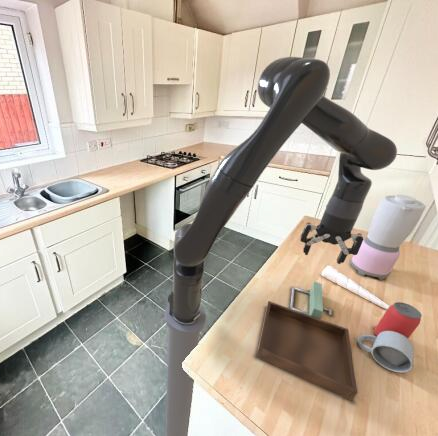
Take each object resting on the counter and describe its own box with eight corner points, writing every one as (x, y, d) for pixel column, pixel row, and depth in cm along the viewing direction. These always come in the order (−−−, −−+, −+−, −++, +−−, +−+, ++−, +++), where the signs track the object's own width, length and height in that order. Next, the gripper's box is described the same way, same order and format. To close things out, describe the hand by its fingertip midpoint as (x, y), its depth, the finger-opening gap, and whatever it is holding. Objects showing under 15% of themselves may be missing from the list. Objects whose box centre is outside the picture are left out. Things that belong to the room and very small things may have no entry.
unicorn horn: (394, 321, 77) (401, 310, 75) (318, 276, 96) (322, 267, 94) (401, 315, 79) (408, 304, 77) (325, 272, 98) (329, 263, 95)
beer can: (385, 326, 76) (404, 298, 70) (409, 345, 70) (431, 317, 64) (367, 329, 75) (385, 302, 69) (390, 349, 69) (410, 321, 63)
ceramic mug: (407, 357, 67) (420, 339, 63) (404, 378, 62) (418, 360, 59) (359, 333, 74) (369, 315, 70) (353, 350, 69) (363, 332, 66)
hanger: (289, 312, 81) (293, 301, 79) (292, 286, 92) (295, 275, 89) (332, 327, 76) (337, 316, 73) (329, 297, 86) (334, 287, 84)
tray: (256, 356, 68) (258, 348, 66) (266, 308, 83) (268, 300, 81) (351, 400, 58) (357, 392, 56) (343, 336, 73) (348, 329, 71)
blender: (392, 284, 91) (439, 208, 76) (352, 274, 96) (388, 201, 81) (380, 260, 104) (418, 191, 88) (345, 253, 109) (376, 186, 93)
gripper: (312, 211, 68) (295, 257, 76) (377, 224, 62) (351, 272, 70) (311, 201, 74) (296, 245, 82) (371, 212, 67) (348, 258, 75)
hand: (321, 257), depth 76 cm, fingers open, 8 cm apart
